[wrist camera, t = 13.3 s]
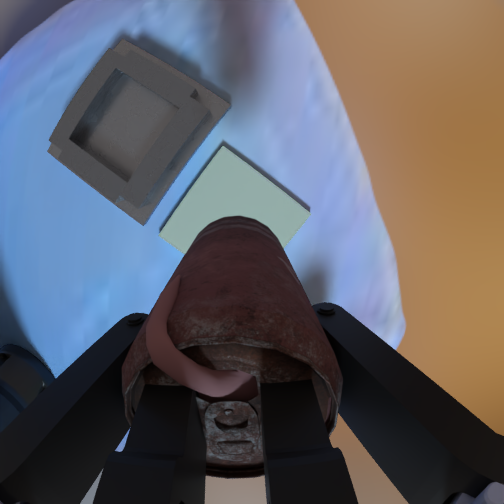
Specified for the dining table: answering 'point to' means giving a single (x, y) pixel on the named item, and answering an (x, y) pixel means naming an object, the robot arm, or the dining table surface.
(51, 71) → the dining table surface
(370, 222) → the dining table surface
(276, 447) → the robot arm
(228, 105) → the socket block
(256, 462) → the can
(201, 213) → the mat
